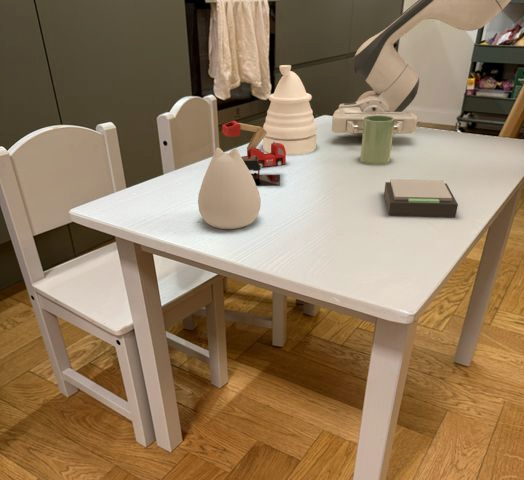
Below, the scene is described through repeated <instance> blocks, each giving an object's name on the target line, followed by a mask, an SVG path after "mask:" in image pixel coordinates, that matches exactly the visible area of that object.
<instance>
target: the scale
mask: <svg viewBox="0 0 524 480" xmlns="http://www.w3.org/2000/svg"><path fill="white" fill-rule="evenodd" d="M383 197H384V201H385V205H386V206H385V207H386V211H387V215H388V217H416V218H417V217H419V218H420V217H421V218H448V219H449V218H451V219H453V218H456V217H457V210H458V207H459V204H458V202H457V200H456V198H455V196H454V194H453V192H452V191H451V188H450V187H449V184H448V183H445V181H444V180H443V179H442V180H441V179H394V178H393V179H391V178H390V180H389V181H385V184H384V191H383Z"/></svg>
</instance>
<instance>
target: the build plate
mask: <svg viewBox="0 0 524 480" xmlns="http://www.w3.org/2000/svg"><path fill="white" fill-rule="evenodd" d="M242 159H243V161H244V163H245V164H246V166H247V168H248V169H249V171H253V172H254V173H251V175H252V177H253V179H254V181H255V184H256V186H257V187H280V186H281V175H280V174H261V170H262V168H260V167H261V165H260V161H258V157H251V158H250V159H248V157H242Z"/></svg>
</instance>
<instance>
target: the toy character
mask: <svg viewBox="0 0 524 480" xmlns="http://www.w3.org/2000/svg"><path fill="white" fill-rule="evenodd" d="M251 174H252V173H251V170H249V169H248V168H247V166H246V164H245V163H244V161H243V159H242V157H241V154H240V152H239V150H238V149H237V147H233V149H232V150H231V151H229V152H224V151H223V149H221V147H216V149H215V151H214V153H213V155H212V158H211V159H210V162H209V165H208V167H207V169H206V171H205V174H204V176H203V178H202V182H201V185H200V188H199V191H198V196H197V205H198V211H199V213H200V216H201V218H202V220H203V221H204V222H205V223H206V224H208V225H209V226H211V227H213V228H216V229H221V230H236V229H241V228H245V227H246V226H249V225H252V223H254V222H255V221H256V219H257V218H258V217H259V213H260V210H261V207H262V206H261V205H262V204H261V202H262V201H261V194H260V191H259V189H258V186H256V184H255V181H254V179H253V177H252V175H251Z"/></svg>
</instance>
